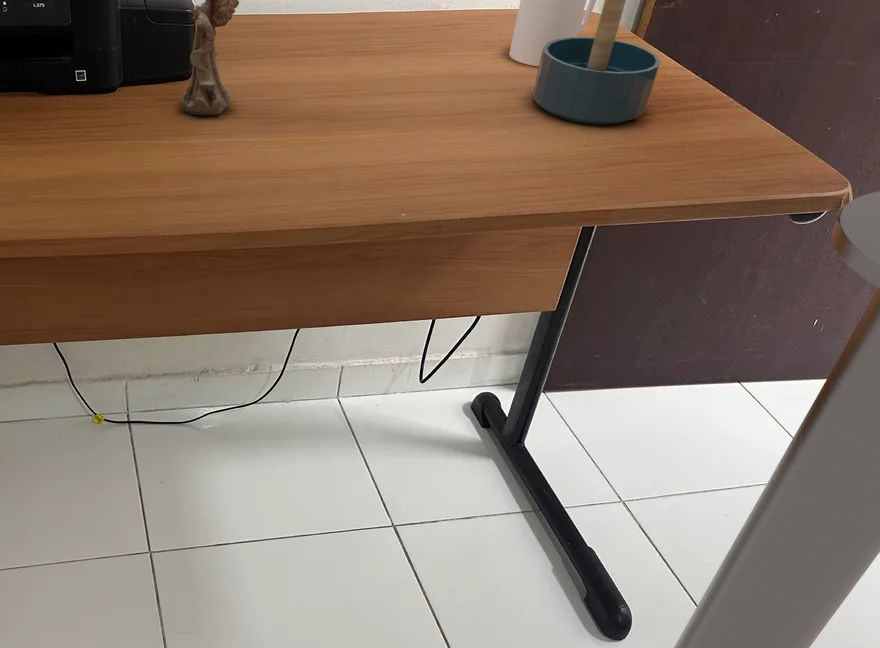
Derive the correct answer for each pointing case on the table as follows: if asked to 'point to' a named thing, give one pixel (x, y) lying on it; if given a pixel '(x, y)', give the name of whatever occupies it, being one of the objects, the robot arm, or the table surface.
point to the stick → (605, 34)
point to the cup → (546, 26)
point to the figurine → (207, 60)
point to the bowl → (594, 81)
